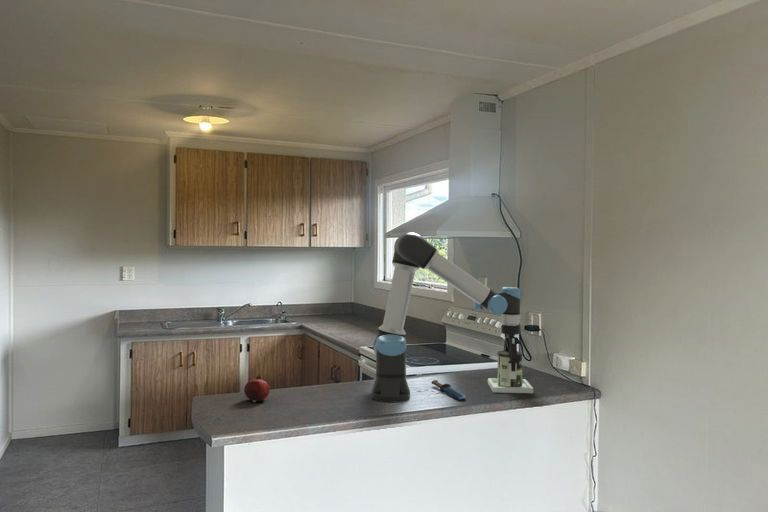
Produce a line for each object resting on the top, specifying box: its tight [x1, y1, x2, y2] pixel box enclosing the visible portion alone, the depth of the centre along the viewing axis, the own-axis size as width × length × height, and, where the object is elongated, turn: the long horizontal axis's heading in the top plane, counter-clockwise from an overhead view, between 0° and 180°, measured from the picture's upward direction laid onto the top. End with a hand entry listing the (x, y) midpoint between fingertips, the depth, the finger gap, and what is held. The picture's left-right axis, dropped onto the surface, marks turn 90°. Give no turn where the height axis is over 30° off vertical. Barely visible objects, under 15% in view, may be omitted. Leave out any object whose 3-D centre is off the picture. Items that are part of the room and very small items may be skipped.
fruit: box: [243, 373, 270, 403], centre depth 217 cm, size 9×10×10 cm
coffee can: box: [497, 350, 524, 387], centre depth 240 cm, size 10×10×14 cm
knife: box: [431, 379, 467, 400], centre depth 231 cm, size 24×3×5 cm
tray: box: [487, 377, 534, 394], centre depth 240 cm, size 16×16×2 cm
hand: (509, 375), depth 240 cm, fingers open, 13 cm apart
